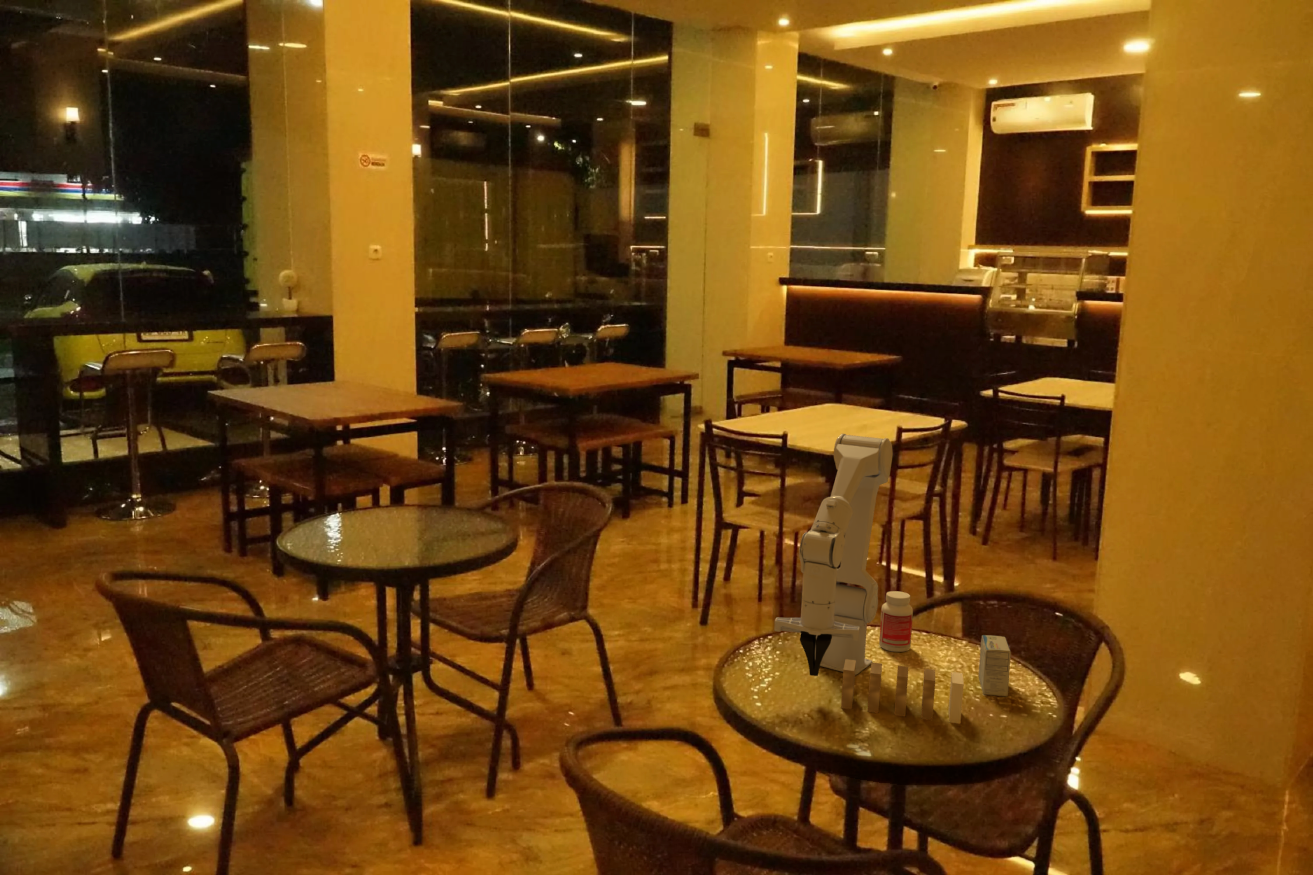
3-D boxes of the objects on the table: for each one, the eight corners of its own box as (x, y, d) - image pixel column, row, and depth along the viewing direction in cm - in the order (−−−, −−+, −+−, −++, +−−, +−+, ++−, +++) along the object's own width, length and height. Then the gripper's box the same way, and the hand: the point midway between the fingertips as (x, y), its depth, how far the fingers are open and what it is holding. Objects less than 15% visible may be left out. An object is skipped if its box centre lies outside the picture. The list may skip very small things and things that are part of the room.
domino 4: (921, 718, 176) (924, 679, 175) (921, 706, 181) (924, 668, 180) (932, 719, 176) (935, 680, 174) (932, 707, 180) (935, 669, 179)
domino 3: (894, 714, 177) (897, 676, 176) (895, 703, 182) (897, 665, 181) (905, 716, 177) (907, 677, 176) (905, 704, 182) (908, 666, 180)
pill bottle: (915, 651, 206) (919, 598, 205) (887, 653, 205) (890, 600, 203) (901, 640, 212) (905, 588, 211) (873, 642, 211) (877, 590, 209)
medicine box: (1007, 697, 186) (1012, 651, 184) (981, 694, 187) (985, 648, 185) (1002, 680, 193) (1006, 636, 192) (977, 677, 194) (981, 633, 193)
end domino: (949, 722, 175) (952, 682, 174) (948, 709, 180) (951, 671, 179) (960, 723, 175) (963, 684, 173) (959, 711, 179) (962, 672, 178)
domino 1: (840, 707, 179) (843, 669, 178) (843, 696, 184) (845, 659, 183) (851, 709, 179) (854, 670, 178) (853, 697, 184) (855, 660, 183)
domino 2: (867, 711, 178) (870, 672, 177) (869, 699, 183) (871, 662, 182) (878, 712, 178) (880, 674, 177) (879, 701, 183) (882, 663, 181)
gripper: (773, 601, 178) (769, 676, 180) (859, 611, 174) (854, 687, 177) (779, 589, 185) (775, 662, 187) (862, 598, 181) (857, 672, 183)
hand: (814, 673), depth 182 cm, fingers closed
